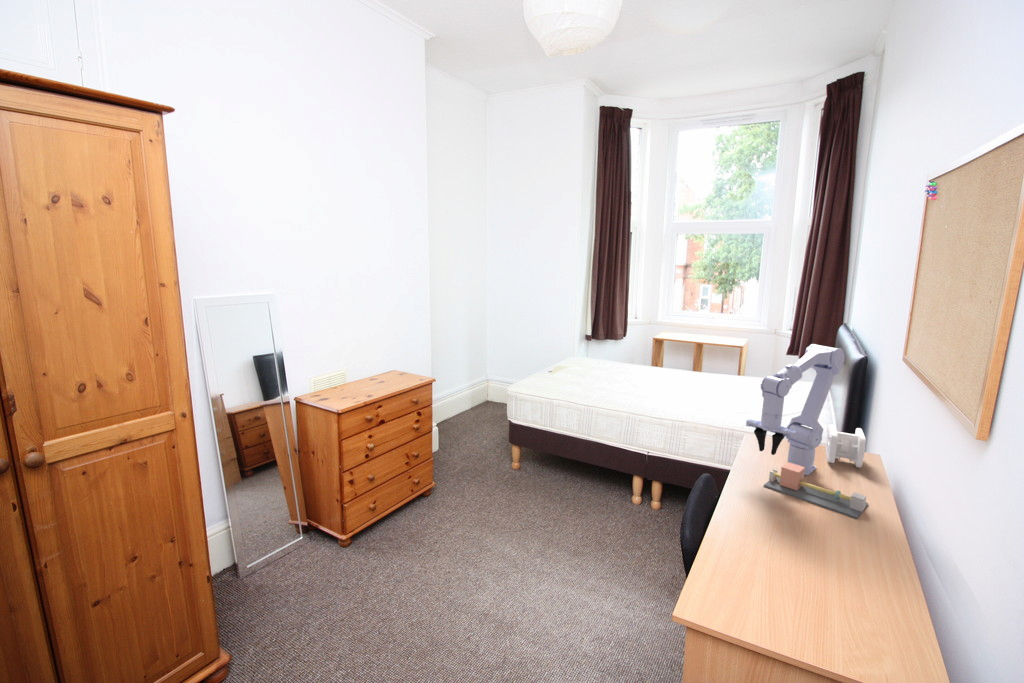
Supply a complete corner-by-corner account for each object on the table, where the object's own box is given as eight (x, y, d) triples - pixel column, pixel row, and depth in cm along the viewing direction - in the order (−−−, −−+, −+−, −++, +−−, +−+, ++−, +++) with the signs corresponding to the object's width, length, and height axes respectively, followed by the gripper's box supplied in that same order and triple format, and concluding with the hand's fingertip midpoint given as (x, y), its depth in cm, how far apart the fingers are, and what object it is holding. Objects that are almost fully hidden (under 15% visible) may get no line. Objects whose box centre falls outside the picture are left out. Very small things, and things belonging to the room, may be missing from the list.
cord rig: (777, 475, 158) (778, 463, 157) (867, 504, 139) (870, 491, 138) (763, 486, 150) (764, 473, 149) (857, 519, 131) (859, 504, 130)
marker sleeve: (785, 479, 153) (788, 462, 152) (802, 485, 149) (805, 467, 148) (779, 484, 149) (781, 467, 148) (796, 490, 145) (799, 472, 144)
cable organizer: (862, 472, 161) (867, 440, 158) (825, 465, 166) (830, 434, 164) (857, 456, 173) (861, 427, 171) (823, 450, 179) (827, 421, 176)
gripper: (743, 409, 154) (739, 448, 156) (792, 421, 143) (787, 462, 145) (752, 405, 158) (748, 443, 161) (800, 416, 147) (795, 456, 150)
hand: (767, 452), depth 153 cm, fingers open, 3 cm apart
